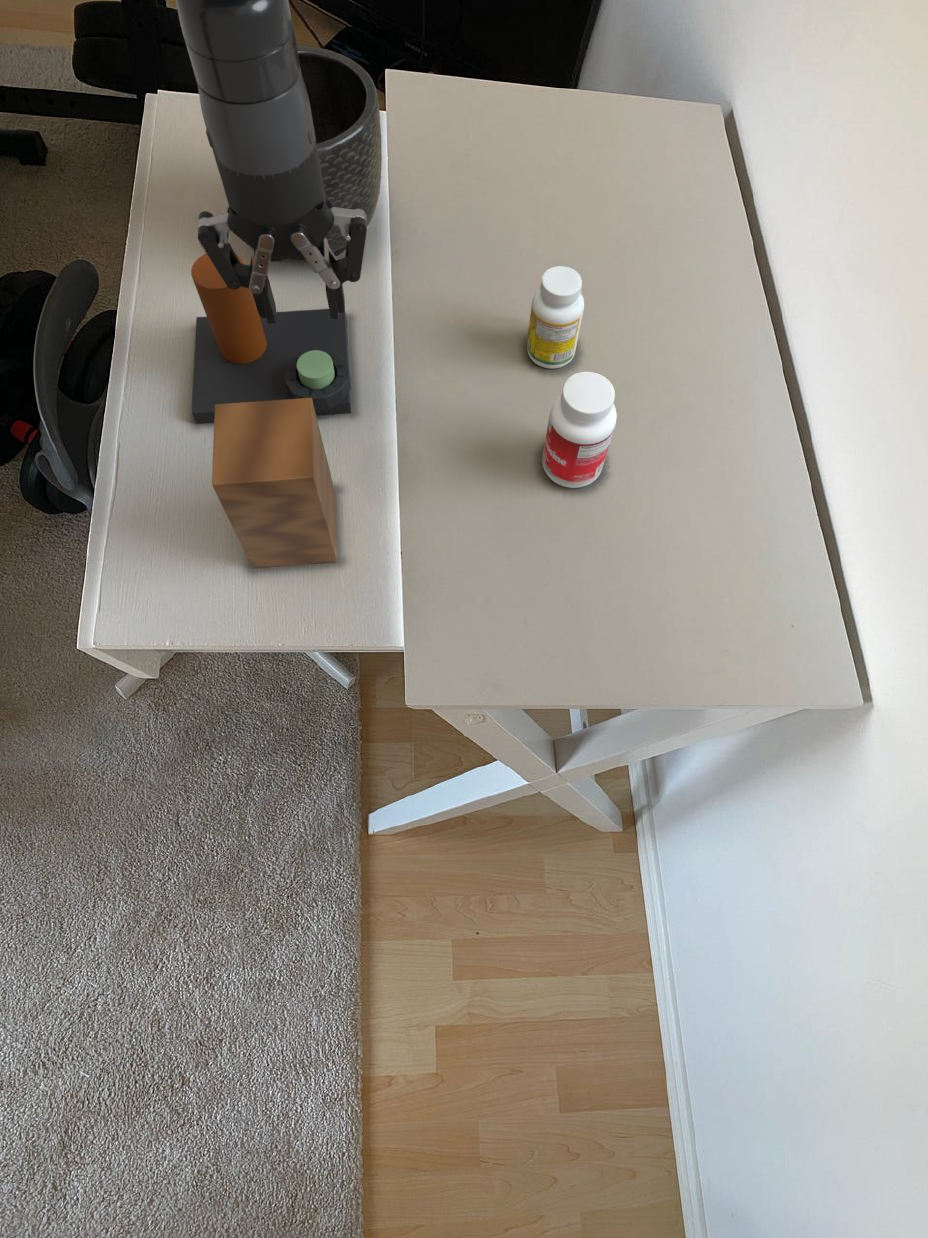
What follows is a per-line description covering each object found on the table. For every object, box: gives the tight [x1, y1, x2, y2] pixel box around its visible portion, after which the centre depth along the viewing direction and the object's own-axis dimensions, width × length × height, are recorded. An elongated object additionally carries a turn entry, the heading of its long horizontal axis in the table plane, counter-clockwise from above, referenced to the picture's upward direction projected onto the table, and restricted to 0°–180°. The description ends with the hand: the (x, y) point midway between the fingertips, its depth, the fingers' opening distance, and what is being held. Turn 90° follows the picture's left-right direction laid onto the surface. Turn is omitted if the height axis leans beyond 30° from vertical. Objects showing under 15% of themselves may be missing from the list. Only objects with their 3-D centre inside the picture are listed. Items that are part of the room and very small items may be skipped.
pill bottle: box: [541, 371, 618, 489], centre depth 75 cm, size 6×6×11 cm
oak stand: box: [211, 398, 338, 569], centre depth 70 cm, size 8×8×14 cm
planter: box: [297, 45, 383, 257], centre depth 85 cm, size 17×17×16 cm
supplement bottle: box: [526, 265, 585, 369], centre depth 82 cm, size 5×5×10 cm
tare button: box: [297, 350, 335, 389], centre depth 79 cm, size 4×4×2 cm
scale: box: [191, 308, 352, 425], centre depth 83 cm, size 16×14×4 cm
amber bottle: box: [190, 252, 267, 364], centre depth 79 cm, size 5×5×10 cm
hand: (303, 313), depth 73 cm, fingers open, 5 cm apart
